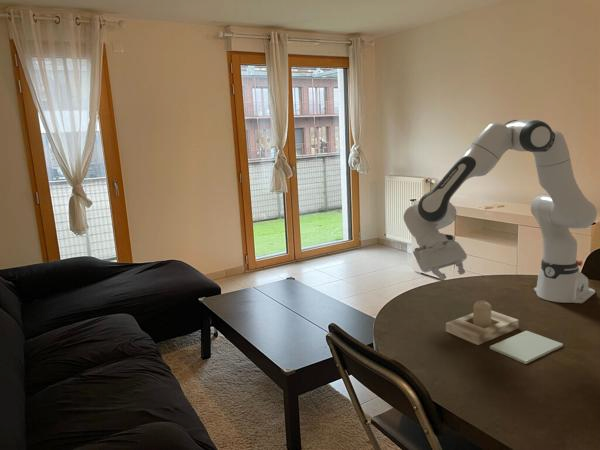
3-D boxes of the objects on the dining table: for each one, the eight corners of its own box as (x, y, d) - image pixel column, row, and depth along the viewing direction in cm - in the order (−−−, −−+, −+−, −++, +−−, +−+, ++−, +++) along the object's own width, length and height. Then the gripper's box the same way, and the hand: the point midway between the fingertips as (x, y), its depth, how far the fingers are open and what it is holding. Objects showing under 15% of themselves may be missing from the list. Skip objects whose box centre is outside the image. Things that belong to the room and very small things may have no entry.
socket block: (485, 316, 165) (485, 308, 165) (518, 328, 154) (518, 319, 154) (445, 331, 156) (445, 322, 155) (477, 345, 145) (477, 336, 144)
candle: (492, 333, 152) (492, 304, 150) (474, 333, 153) (474, 304, 151) (489, 326, 157) (489, 298, 155) (471, 326, 158) (472, 298, 156)
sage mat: (526, 332, 151) (526, 330, 151) (562, 346, 141) (563, 343, 141) (489, 348, 142) (489, 346, 142) (525, 364, 132) (525, 361, 132)
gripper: (415, 244, 161) (437, 278, 155) (456, 234, 171) (478, 265, 165) (406, 254, 166) (427, 287, 159) (447, 244, 176) (468, 275, 169)
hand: (453, 276), depth 162 cm, fingers open, 8 cm apart
